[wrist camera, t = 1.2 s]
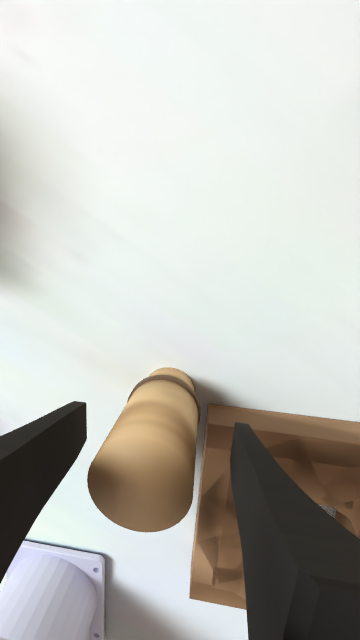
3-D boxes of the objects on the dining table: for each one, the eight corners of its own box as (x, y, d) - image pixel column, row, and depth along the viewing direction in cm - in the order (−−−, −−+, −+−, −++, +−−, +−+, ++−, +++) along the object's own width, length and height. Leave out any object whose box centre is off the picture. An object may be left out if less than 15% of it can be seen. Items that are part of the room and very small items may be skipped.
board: (379, 597, 17) (401, 640, 15) (191, 563, 18) (189, 598, 16) (435, 431, 14) (471, 458, 12) (208, 403, 15) (208, 423, 13)
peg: (198, 423, 16) (191, 542, 9) (137, 415, 16) (85, 524, 9) (204, 365, 15) (201, 447, 8) (139, 358, 15) (83, 431, 8)
